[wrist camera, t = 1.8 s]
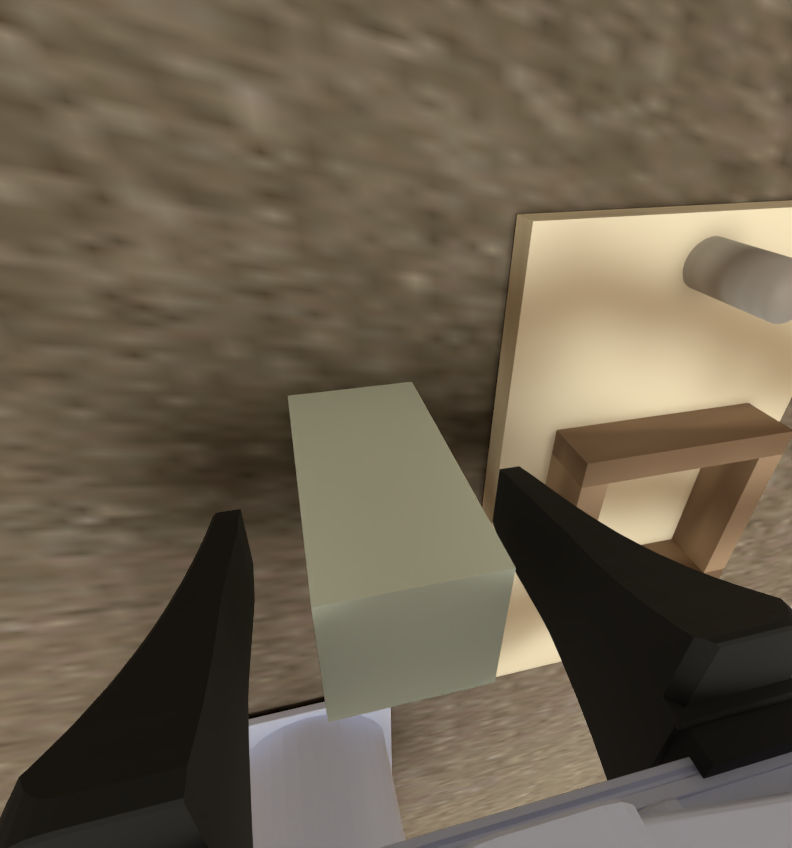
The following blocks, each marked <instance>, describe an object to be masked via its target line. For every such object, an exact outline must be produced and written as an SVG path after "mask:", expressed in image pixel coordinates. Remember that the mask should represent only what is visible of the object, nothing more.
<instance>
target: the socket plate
mask: <svg viewBox="0 0 792 848" xmlns="http://www.w3.org/2000/svg"><path fill="white" fill-rule="evenodd" d="M791 397H792V200H788V201H768V202H749V203H729V204H710V205H690V206H671V207H651V208H631V209H612V210H592V211H573V212H553V213H534V214H517V220H516V228H515V237H514V245H513V253H512V262H511V270H510V278H509V287H508V295H507V303H506V312H505V320H504V328H503V337H502V345H501V353H500V362H499V370H498V378H497V387H496V395H495V403H494V412H493V420H492V429H491V437H490V445H489V454H488V462H487V470H486V479H485V487H484V495H483V504H482V508H483V510H484V512H485V514H486V515H487V517H488V519H489V521H490V523H491V524H492V526H493V528H494V525H493V523H492V519H493V512H494V505H495V498H496V491H497V483H498V476H499V469H504V468H511V467H517V466H520V467H521V468H523V469H524V470H526V471H527V472H528V473H530V474H531V475H533V476H534V477H535V478H537V479H538V480H540V481H541V482H542V483H544V484H545V485H547V486H548V487H549V488H551V489H552V490H553V491H555V492H556V493H558V494H559V495H560V496H562V497H563V498H565V499H566V500H568V501H569V502H571V503H572V504H573V505H575V506H576V507H578V508H579V509H581V510H582V511H584V512H585V513H587V514H588V515H590V516H592V517H593V518H595V519H596V520H598V521H600V522H601V523H603V524H604V525H606V526H608V527H609V528H611V529H613V530H614V531H616V532H618V533H620V534H621V535H623V536H625V537H627V538H629V539H631V540H632V541H634V542H636V543H638V544H640V545H642V546H644V547H646V548H648V549H650V550H652V551H654V552H656V553H658V554H660V555H662V556H665V557H667V558H669V559H671V560H674V561H676V562H678V563H680V564H683V565H685V566H687V567H690V568H692V569H695V570H697V571H700V572H702V573H705V574H707V575H710V576H713V577H716V578H718V579H719V577H720V575H721V574H722V572H723V570H724V568H725V566H726V564H727V562H728V560H729V558H730V556H731V554H732V552H733V550H734V548H735V546H736V544H737V542H738V540H739V538H740V536H741V535H742V533H743V531H744V529H745V527H746V525H747V523H748V521H749V519H750V517H751V515H752V513H753V511H754V509H755V507H756V505H757V503H758V501H759V499H760V497H761V495H762V494H763V492H764V490H765V488H766V486H767V484H768V482H769V480H770V478H771V476H772V474H773V472H774V470H775V468H776V466H777V464H778V462H779V460H780V458H781V456H782V455H783V453H784V451H785V449H786V447H787V445H788V443H789V441H790V439H791V437H792V429H790V428H789V427H787V426H785V425H784V424H782V423H780V420H781V417H782V415H783V413H784V411H785V409H786V407H787V405H788V403H789V401H790V399H791ZM494 530H495V528H494ZM495 532H496V530H495ZM560 661H561V658H560V656H559V654H558V651H557V649H556V647H555V645H554V642H553V640H552V638H551V636H550V633H549V631H548V629H547V628H546V626H545V624H544V622H543V620H542V618H541V616H540V614H539V613H538V611H537V609H536V607H535V606H534V604H533V602H532V600H531V599H530V597H529V595H528V593H527V592H526V590H525V588H524V586H523V585H522V583H521V581H520V579H519V578H518V576H517V574H516V572H515V575H514V581H513V586H512V591H511V597H510V602H509V608H508V613H507V619H506V624H505V630H504V635H503V640H502V646H501V651H500V657H499V662H498V668H497V673H496V677H497V676H502V675H506V674H510V673H514V672H518V671H522V670H527V669H531V668H535V667H539V666H543V665H548V664H552V663H556V662H560Z"/></svg>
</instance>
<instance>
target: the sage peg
mask: <svg viewBox="0 0 792 848" xmlns="http://www.w3.org/2000/svg"><path fill="white" fill-rule="evenodd" d="M288 404H289V413H290V422H291V430H292V439H293V448H294V457H295V466H296V475H297V484H298V493H299V502H300V511H301V520H302V529H303V538H304V547H305V556H306V565H307V574H308V583H309V592H310V601H311V609H312V616H313V623H314V630H315V637H316V643H317V650H318V657H319V664H320V671H321V678H322V685H323V691H324V698H325V705H326V712H327V719H328V722H332V721H336V720H340V719H345V718H349V717H353V716H357V715H361V714H365V713H369V712H374V711H378V710H382V709H386V708H390V707H394V706H399V705H403V704H407V703H411V702H415V701H419V700H424V699H428V698H432V697H436V696H440V695H444V694H448V693H453V692H457V691H461V690H465V689H469V688H473V687H478V686H482V685H486V684H490V683H494V682H495V678H496V673H497V668H498V662H499V657H500V651H501V646H502V640H503V635H504V630H505V624H506V619H507V613H508V608H509V602H510V597H511V591H512V586H513V581H514V575H515V570H516V567H515V566H514V564H513V562H512V560H511V558H510V557H509V555H508V553H507V551H506V549H505V548H504V546H503V544H502V542H501V540H500V539H499V537H498V535H497V533H496V532H495V530H494V528H493V526H492V524H491V523H490V521H489V519H488V517H487V515H486V514H485V512H484V510H483V508H482V506H481V505H480V503H479V501H478V499H477V497H476V496H475V494H474V492H473V490H472V488H471V487H470V485H469V483H468V481H467V480H466V478H465V476H464V474H463V472H462V471H461V469H460V467H459V465H458V463H457V462H456V460H455V458H454V456H453V454H452V453H451V451H450V449H449V447H448V445H447V444H446V442H445V440H444V438H443V437H442V435H441V433H440V431H439V429H438V428H437V426H436V424H435V422H434V420H433V419H432V417H431V415H430V413H429V411H428V410H427V408H426V406H425V404H424V402H423V401H422V399H421V397H420V395H419V393H418V392H417V390H416V388H415V386H414V385H413V383H412V382H404V383H395V384H387V385H378V386H369V387H361V388H352V389H343V390H334V391H326V392H317V393H308V394H299V395H291V396H288Z"/></svg>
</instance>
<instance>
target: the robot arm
mask: <svg viewBox="0 0 792 848" xmlns="http://www.w3.org/2000/svg"><path fill="white" fill-rule="evenodd" d="M492 523H493V525H494V528H495V530H496V533H497V535H498V537H499V539H500V540H501V542H502V544H503V546H504V548H505V549H506V551H507V553H508V555H509V557H510V558H511V560H512V562H513V564H514V566H515V567H516V570H515V572H516V574H517V576H518V578H519V579H520V581H521V583H522V585H523V586H524V588H525V590H526V592H527V593H528V595H529V597H530V599H531V600H532V602H533V604H534V606H535V607H536V609H537V611H538V613H539V614H540V616H541V618H542V620H543V622H544V624H545V626H546V628H547V629H548V631H549V633H550V636H551V638H552V640H553V642H554V645H555V647H556V649H557V651H558V654H559V656H560V658H561V661H562V663H563V665H564V668H565V670H566V672H567V675H568V677H569V680H570V682H571V684H572V687H573V689H574V692H575V694H576V696H577V699H578V702H579V704H580V707H581V709H582V712H583V715H584V717H585V720H586V722H587V725H588V728H589V730H590V733H591V735H592V738H593V741H594V744H595V747H596V749H597V752H598V755H599V758H600V761H601V764H602V766H603V769H604V772H605V775H606V778H607V781H605V782H601V783H598V784H594V785H591V786H588V787H584V788H581V789H577V790H574V791H571V792H567V793H564V794H560V795H557V796H554V797H550V798H547V799H543V800H540V801H537V802H533V803H530V804H526V805H523V806H519V807H516V808H513V809H509V810H506V811H502V812H499V813H496V814H492V815H489V816H485V817H482V818H479V819H475V820H472V821H468V822H465V823H462V824H458V825H455V826H451V827H448V828H445V829H441V830H438V831H434V832H431V833H428V834H424V835H421V836H417V837H414V838H410V839H407V840H405V835H404V830H403V826H402V821H401V816H400V811H399V806H398V801H397V796H396V791H395V786H394V781H393V777H392V752H391V707H390V708H386V709H382V710H378V711H374V712H369V713H365V714H361V715H357V716H353V717H349V718H345V719H340V720H336V721H332V722H328V719H327V712H326V705H325V702H320V703H316V704H312V705H307V706H303V707H299V708H295V709H290V710H286V711H282V712H277V713H273V714H269V715H264V716H260V717H256V718H252V719H249V718H248V688H249V671H250V657H251V644H252V630H253V616H254V601H255V598H254V574H253V561H252V557H251V552H250V548H249V544H248V539H247V535H246V531H245V526H244V522H243V518H242V513H241V509H238V510H232V511H225V512H219V513H216V514H215V515H214V516H213V517H212V520H211V522H210V525H209V527H208V530H207V532H206V535H205V537H204V539H203V541H202V543H201V545H200V548H199V550H198V552H197V554H196V556H195V558H194V560H193V562H192V564H191V565H190V567H189V569H188V571H187V573H186V575H185V577H184V579H183V580H182V582H181V584H180V586H179V587H178V589H177V591H176V592H175V594H174V596H173V597H172V599H171V601H170V602H169V604H168V606H167V607H166V609H165V611H164V612H163V614H162V615H161V617H160V618H159V620H158V621H157V623H156V624H155V626H154V627H153V629H152V630H151V631H150V633H149V634H148V636H147V637H146V638H145V640H144V641H143V643H142V644H141V645H140V647H139V648H138V649H137V651H136V652H135V653H134V654H133V656H132V657H131V658H130V660H129V661H128V662H127V663H126V665H125V666H124V667H123V669H122V670H121V671H120V672H119V674H118V675H117V676H116V677H115V678H114V680H113V681H112V682H111V683H110V684H109V686H108V687H107V688H106V689H105V690H104V691H103V692H102V693H101V695H100V696H99V697H98V698H97V699H96V700H95V701H94V702H93V703H92V704H91V706H90V707H89V708H88V709H87V710H86V711H85V712H84V713H83V714H82V715H81V717H80V718H79V719H78V720H77V721H76V722H75V723H74V724H73V725H72V726H71V727H70V728H69V729H68V730H67V731H66V732H65V734H63V735H62V736H61V737H60V738H59V739H58V740H57V741H56V742H55V743H54V744H53V745H52V746H51V747H50V748H49V749H48V750H47V751H46V752H45V753H44V754H43V755H42V756H41V757H40V758H39V759H38V760H37V761H36V762H35V763H34V764H33V765H32V766H31V767H30V768H29V769H28V770H26V771H25V772H24V773H23V774H22V775H21V776H20V777H19V778H18V780H17V782H16V785H15V787H14V789H13V791H12V793H11V796H10V798H9V800H8V802H7V804H6V806H5V808H4V811H3V813H2V815H1V817H0V848H792V609H791V608H790V607H789V606H788V605H787V604H786V603H785V602H784V601H783V600H782V599H780V598H777V597H774V596H771V595H767V594H764V593H761V592H758V591H754V590H751V589H748V588H745V587H741V586H738V585H735V584H732V583H729V582H727V581H724V580H721V579H718V578H716V577H713V576H710V575H707V574H705V573H702V572H700V571H697V570H695V569H692V568H690V567H687V566H685V565H683V564H680V563H678V562H676V561H674V560H671V559H669V558H667V557H665V556H662V555H660V554H658V553H656V552H654V551H652V550H650V549H648V548H646V547H644V546H642V545H640V544H638V543H636V542H634V541H632V540H631V539H629V538H627V537H625V536H623V535H621V534H620V533H618V532H616V531H614V530H613V529H611V528H609V527H608V526H606V525H604V524H603V523H601V522H600V521H598V520H596V519H595V518H593V517H592V516H590V515H588V514H587V513H585V512H584V511H582V510H581V509H579V508H578V507H576V506H575V505H573V504H572V503H571V502H569V501H568V500H566V499H565V498H563V497H562V496H560V495H559V494H558V493H556V492H555V491H553V490H552V489H551V488H549V487H548V486H547V485H545V484H544V483H542V482H541V481H540V480H538V479H537V478H535V477H534V476H533V475H531V474H530V473H528V472H527V471H526V470H524V469H523V468H521V467H520V466H517V467H511V468H504V469H499V476H498V483H497V491H496V498H495V505H494V512H493V519H492Z"/></svg>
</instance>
